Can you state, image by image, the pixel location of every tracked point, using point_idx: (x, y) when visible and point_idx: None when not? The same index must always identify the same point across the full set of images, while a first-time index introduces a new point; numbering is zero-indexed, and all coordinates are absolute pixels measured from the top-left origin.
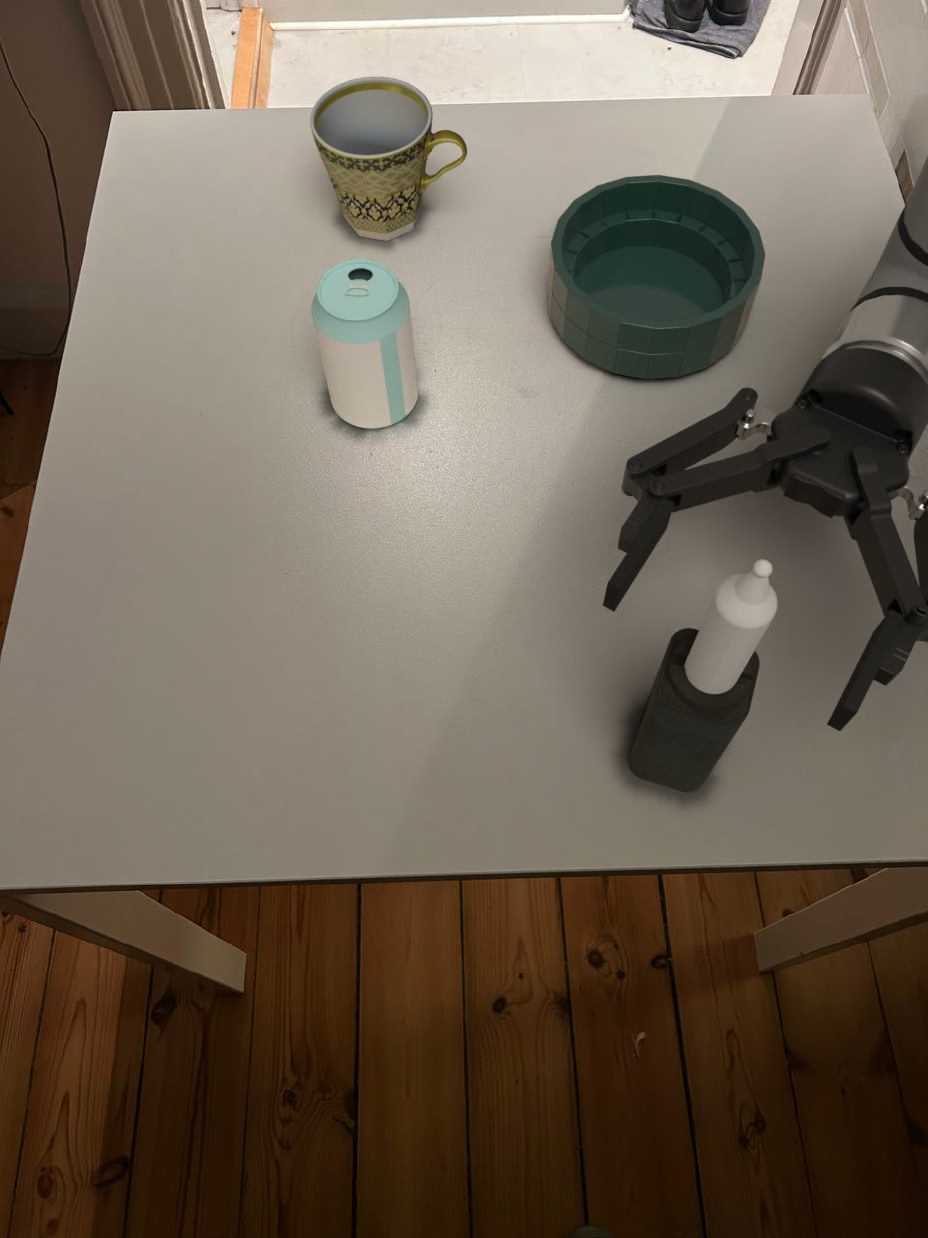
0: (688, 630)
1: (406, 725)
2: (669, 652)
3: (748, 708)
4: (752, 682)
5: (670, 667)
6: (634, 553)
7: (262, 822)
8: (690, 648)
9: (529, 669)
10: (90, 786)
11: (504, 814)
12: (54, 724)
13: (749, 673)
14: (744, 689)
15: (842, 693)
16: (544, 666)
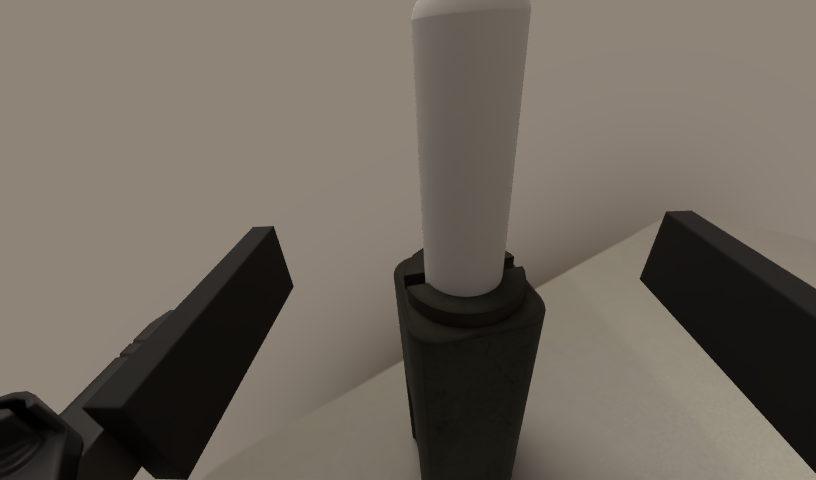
0: (532, 317)
1: (659, 343)
2: (527, 283)
3: (396, 274)
4: (405, 299)
5: (509, 254)
6: (743, 253)
7: (639, 262)
8: (507, 279)
9: (653, 455)
10: None
11: None
12: (790, 246)
13: (414, 286)
14: (410, 270)
15: (271, 323)
16: (647, 470)
